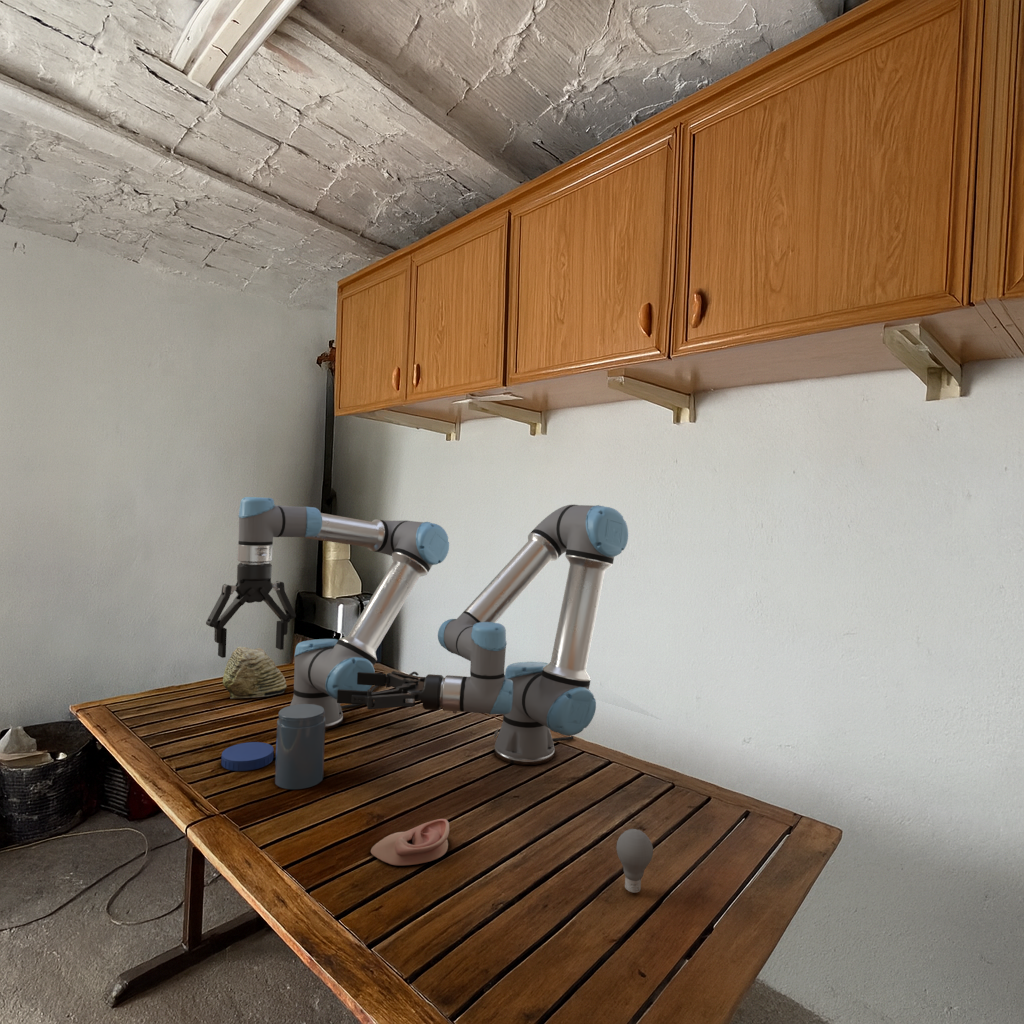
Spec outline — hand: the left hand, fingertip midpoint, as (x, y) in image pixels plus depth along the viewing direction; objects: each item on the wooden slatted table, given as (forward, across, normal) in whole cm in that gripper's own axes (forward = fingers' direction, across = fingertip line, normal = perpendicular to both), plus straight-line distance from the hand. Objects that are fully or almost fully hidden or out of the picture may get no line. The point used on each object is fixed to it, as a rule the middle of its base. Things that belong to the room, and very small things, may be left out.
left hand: (251, 652), depth 149 cm
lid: (+24, 0, 0) cm, 24 cm away
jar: (+26, +5, -16) cm, 31 cm away
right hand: (+4, +12, -24) cm, 27 cm away
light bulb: (+26, +28, -90) cm, 97 cm away
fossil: (+26, +21, +47) cm, 58 cm away
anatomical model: (+26, +7, -56) cm, 62 cm away
